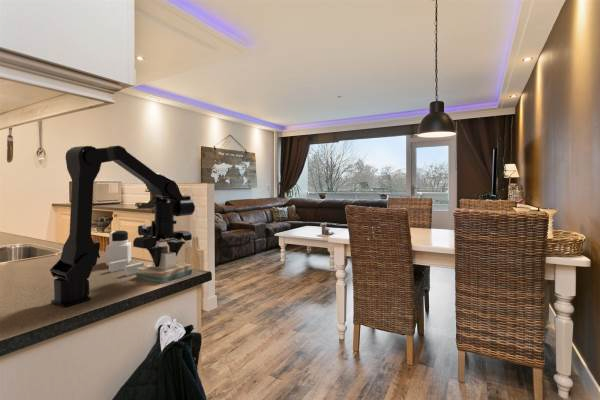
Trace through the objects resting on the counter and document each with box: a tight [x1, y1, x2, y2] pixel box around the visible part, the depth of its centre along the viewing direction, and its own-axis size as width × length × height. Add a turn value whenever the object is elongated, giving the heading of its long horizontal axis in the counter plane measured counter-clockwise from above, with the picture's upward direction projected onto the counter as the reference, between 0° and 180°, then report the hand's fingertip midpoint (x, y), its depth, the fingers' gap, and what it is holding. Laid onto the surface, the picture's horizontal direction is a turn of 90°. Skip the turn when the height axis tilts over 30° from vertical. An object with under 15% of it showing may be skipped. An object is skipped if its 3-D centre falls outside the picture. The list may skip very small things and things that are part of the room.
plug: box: [152, 245, 177, 270], centre depth 106 cm, size 4×6×8 cm, turn 63°
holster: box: [108, 259, 145, 277], centre depth 110 cm, size 6×10×3 cm, turn 63°
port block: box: [135, 261, 193, 284], centre depth 106 cm, size 12×12×3 cm
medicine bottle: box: [105, 230, 132, 267], centre depth 121 cm, size 7×7×12 cm
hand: (164, 264), depth 106 cm, fingers open, 5 cm apart
